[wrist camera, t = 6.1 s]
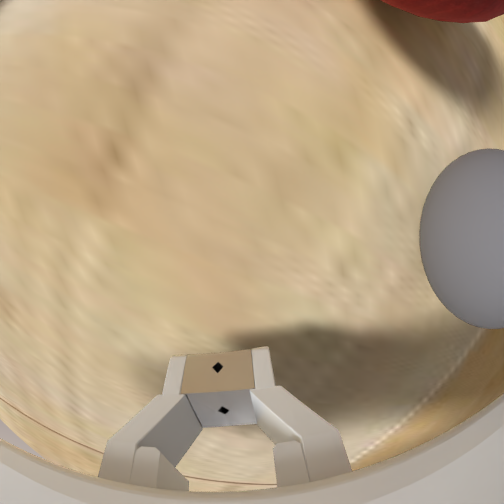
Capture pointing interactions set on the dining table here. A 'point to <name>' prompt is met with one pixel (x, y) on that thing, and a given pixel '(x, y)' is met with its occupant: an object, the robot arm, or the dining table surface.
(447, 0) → the onion
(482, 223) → the grey rubber ball
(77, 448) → the dining table surface
